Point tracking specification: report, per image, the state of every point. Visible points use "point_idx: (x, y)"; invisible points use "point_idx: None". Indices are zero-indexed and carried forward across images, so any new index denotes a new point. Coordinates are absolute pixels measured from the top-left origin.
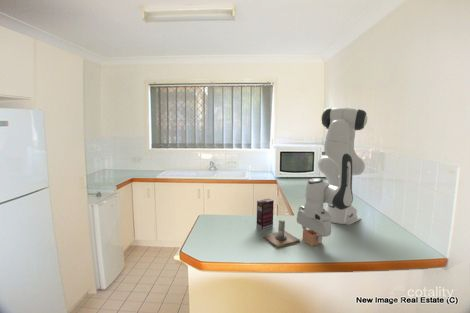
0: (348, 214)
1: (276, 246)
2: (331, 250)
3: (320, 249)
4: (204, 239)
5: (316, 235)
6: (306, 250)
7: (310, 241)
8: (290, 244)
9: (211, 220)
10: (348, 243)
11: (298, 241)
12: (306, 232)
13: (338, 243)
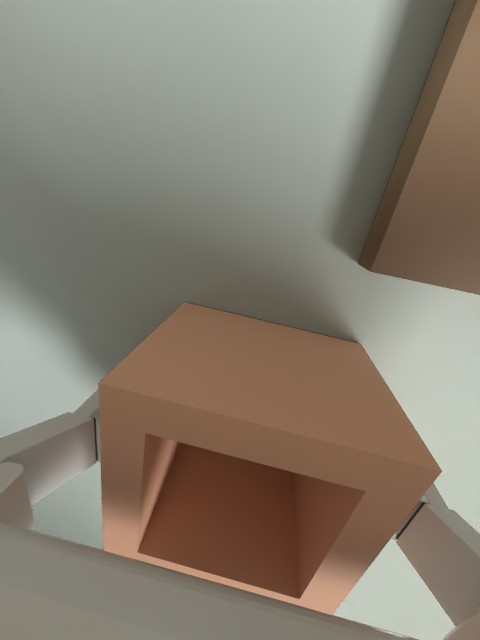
0: None
1: None
2: (17, 367)
3: (72, 303)
4: None
5: (109, 465)
6: (127, 111)
7: (195, 327)
8: (455, 9)
9: None
10: (65, 535)
11: (374, 238)
12: (314, 450)
13: (94, 502)
